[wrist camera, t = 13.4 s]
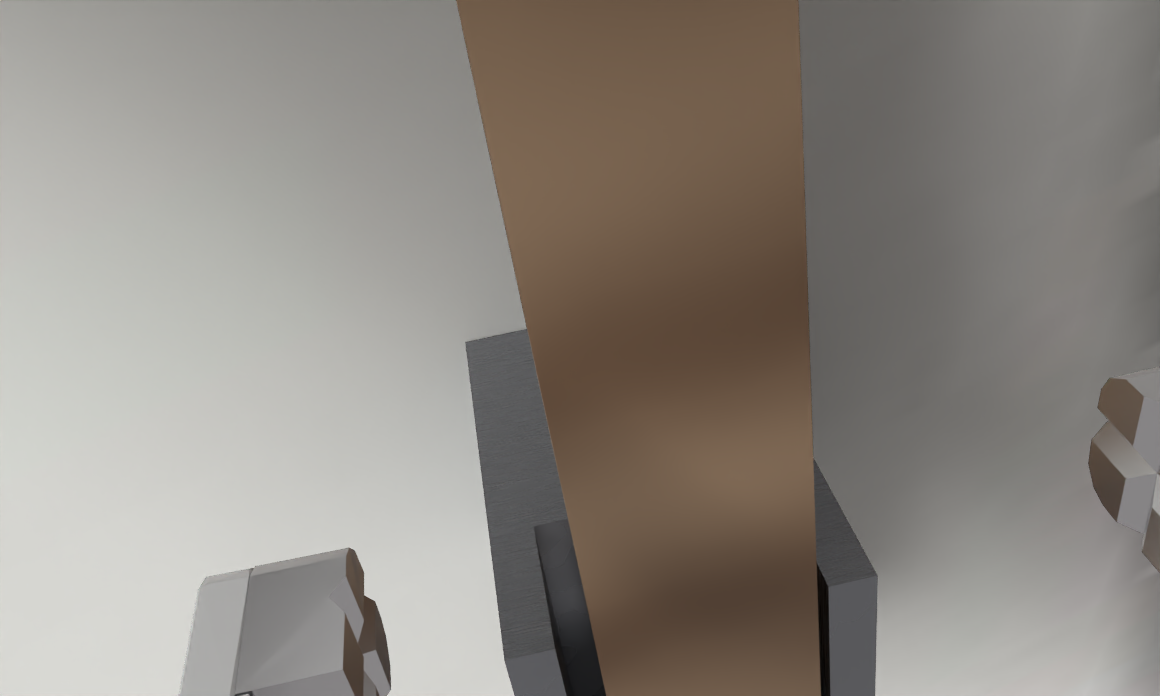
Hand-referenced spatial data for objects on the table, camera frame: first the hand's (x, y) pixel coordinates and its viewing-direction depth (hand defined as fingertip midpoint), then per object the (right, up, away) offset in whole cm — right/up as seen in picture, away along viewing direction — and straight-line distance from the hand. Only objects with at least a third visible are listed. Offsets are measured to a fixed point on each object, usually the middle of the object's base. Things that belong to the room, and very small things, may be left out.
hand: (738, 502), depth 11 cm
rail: (-1, +5, +8) cm, 9 cm away
